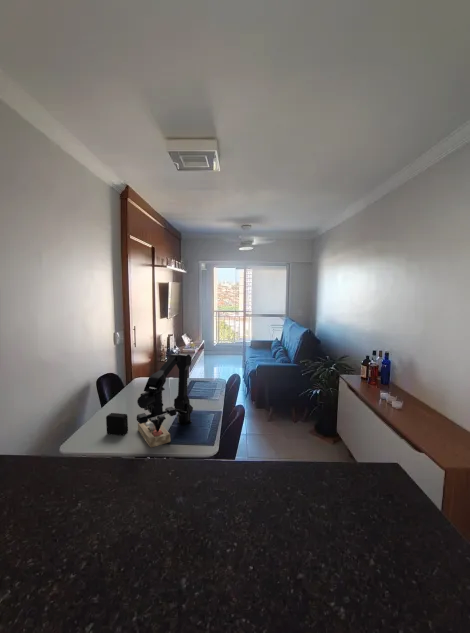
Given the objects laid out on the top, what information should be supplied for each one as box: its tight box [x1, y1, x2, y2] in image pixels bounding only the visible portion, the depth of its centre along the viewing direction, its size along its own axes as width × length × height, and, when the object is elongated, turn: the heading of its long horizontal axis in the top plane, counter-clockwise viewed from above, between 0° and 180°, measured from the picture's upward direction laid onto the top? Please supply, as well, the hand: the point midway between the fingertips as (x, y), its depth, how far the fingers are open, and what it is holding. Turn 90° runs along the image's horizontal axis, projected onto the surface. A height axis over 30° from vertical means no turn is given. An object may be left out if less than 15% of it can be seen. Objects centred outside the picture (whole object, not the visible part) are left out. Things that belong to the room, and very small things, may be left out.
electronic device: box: [105, 412, 129, 436], centre depth 158 cm, size 4×10×10 cm, turn 79°
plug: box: [149, 421, 156, 431], centre depth 154 cm, size 4×4×4 cm
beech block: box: [137, 419, 171, 448], centre depth 154 cm, size 10×22×4 cm, turn 33°
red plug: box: [153, 430, 162, 437], centre depth 149 cm, size 4×4×4 cm
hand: (157, 431), depth 149 cm, fingers closed, pressing on red plug
